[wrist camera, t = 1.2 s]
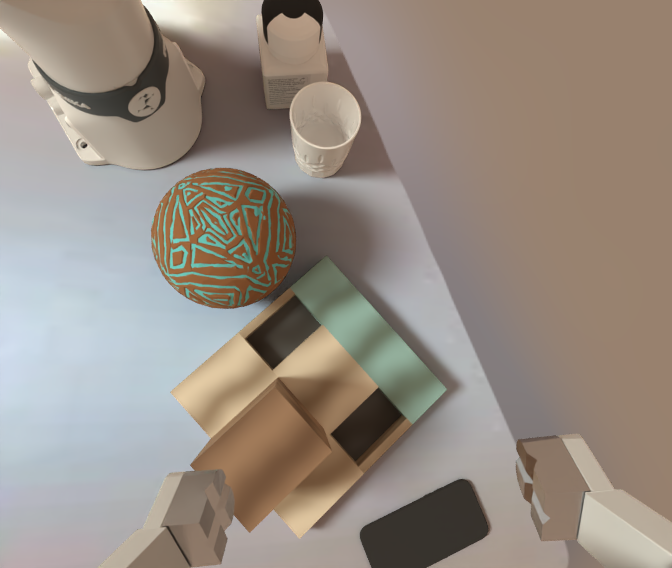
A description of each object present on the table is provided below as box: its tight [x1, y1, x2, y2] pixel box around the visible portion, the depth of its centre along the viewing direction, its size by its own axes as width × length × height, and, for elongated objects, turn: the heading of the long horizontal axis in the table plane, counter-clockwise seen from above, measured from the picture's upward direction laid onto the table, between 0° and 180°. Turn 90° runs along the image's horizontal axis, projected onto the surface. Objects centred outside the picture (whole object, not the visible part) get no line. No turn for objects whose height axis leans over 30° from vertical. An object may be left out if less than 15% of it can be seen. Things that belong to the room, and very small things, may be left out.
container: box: [256, 0, 329, 109], centre depth 50 cm, size 8×8×13 cm
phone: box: [360, 479, 488, 568], centre depth 51 cm, size 7×1×15 cm
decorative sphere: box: [151, 168, 296, 309], centre depth 45 cm, size 15×15×15 cm
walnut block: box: [190, 378, 332, 533], centre depth 43 cm, size 8×10×10 cm
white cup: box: [290, 82, 361, 178], centre depth 51 cm, size 8×8×10 cm
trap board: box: [170, 256, 447, 539], centre depth 50 cm, size 22×24×2 cm
